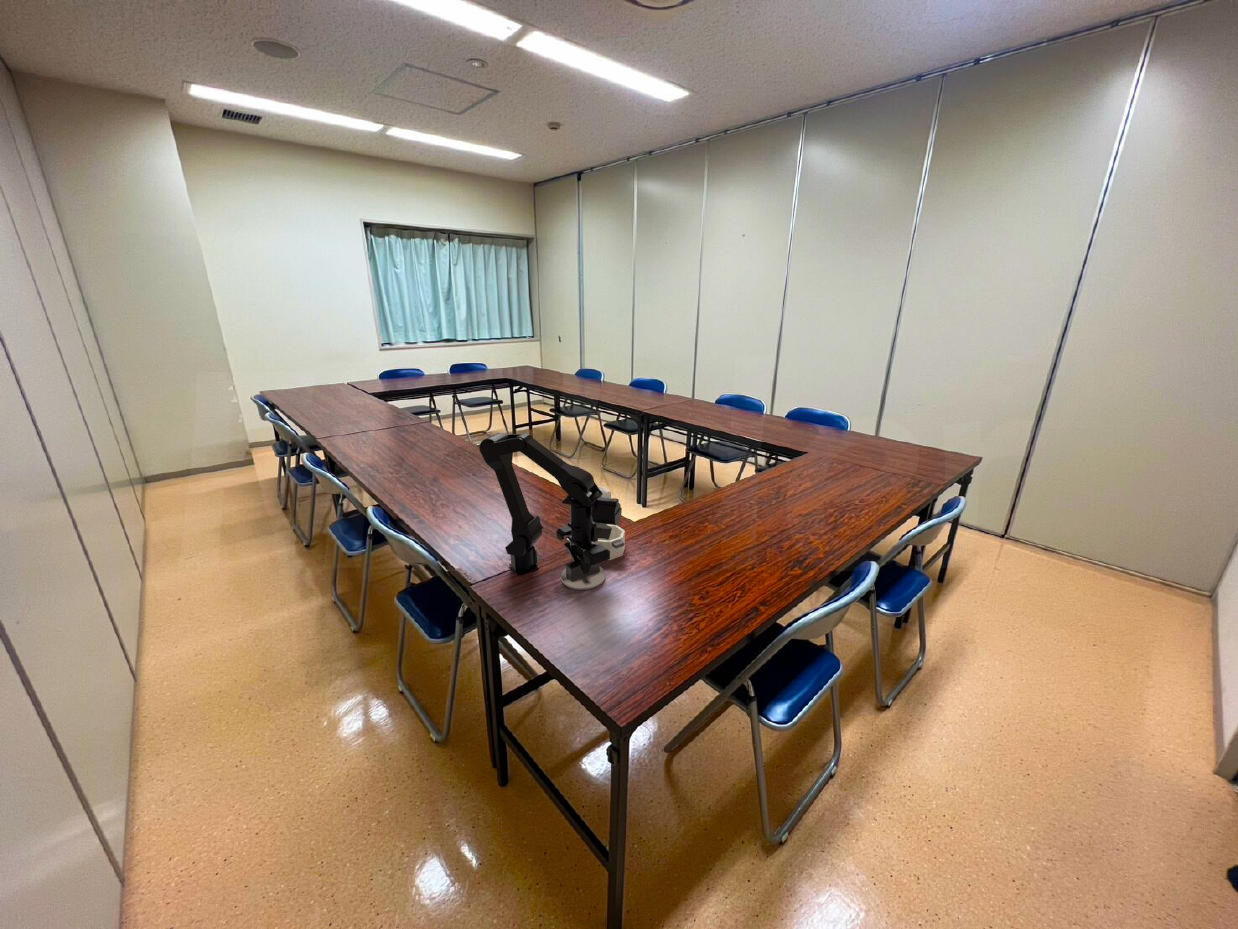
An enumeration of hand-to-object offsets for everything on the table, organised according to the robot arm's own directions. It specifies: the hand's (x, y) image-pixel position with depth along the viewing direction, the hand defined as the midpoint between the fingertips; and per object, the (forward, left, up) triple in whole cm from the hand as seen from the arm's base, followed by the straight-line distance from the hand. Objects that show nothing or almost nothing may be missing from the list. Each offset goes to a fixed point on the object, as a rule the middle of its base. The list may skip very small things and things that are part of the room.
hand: (583, 570), depth 129 cm
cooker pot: (+14, +9, -2) cm, 16 cm away
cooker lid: (0, 0, -2) cm, 2 cm away
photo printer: (+23, +28, -2) cm, 37 cm away
